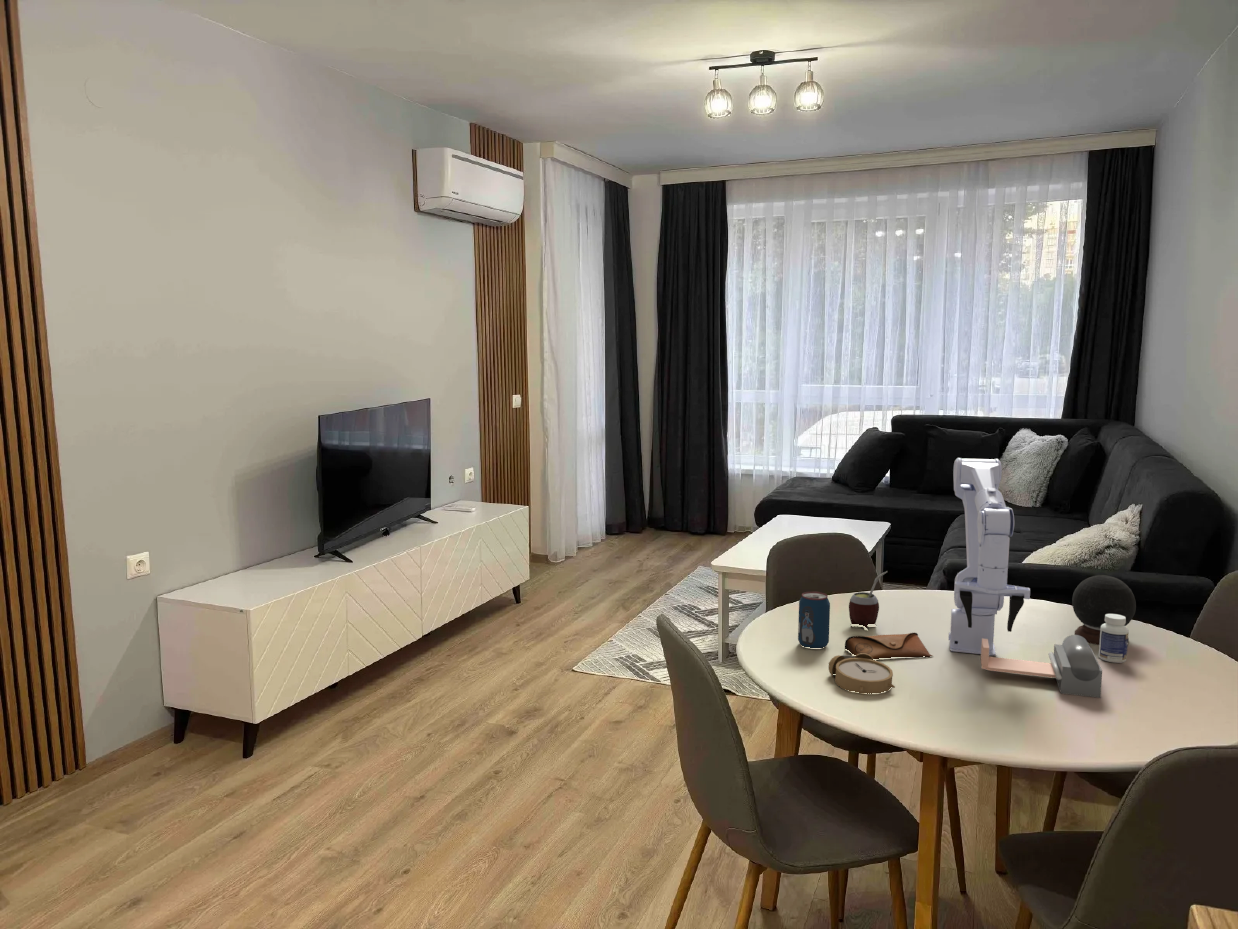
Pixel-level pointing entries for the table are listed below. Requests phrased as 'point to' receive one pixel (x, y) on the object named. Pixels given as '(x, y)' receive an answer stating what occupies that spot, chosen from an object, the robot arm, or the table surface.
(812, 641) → the soda can
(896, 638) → the sunglasses case
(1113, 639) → the pill bottle
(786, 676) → the table surface
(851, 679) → the alarm clock
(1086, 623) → the black ball on stand
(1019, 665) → the pink l-shaped bracket
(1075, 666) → the dispenser
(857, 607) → the mate gourd
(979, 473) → the robot arm
